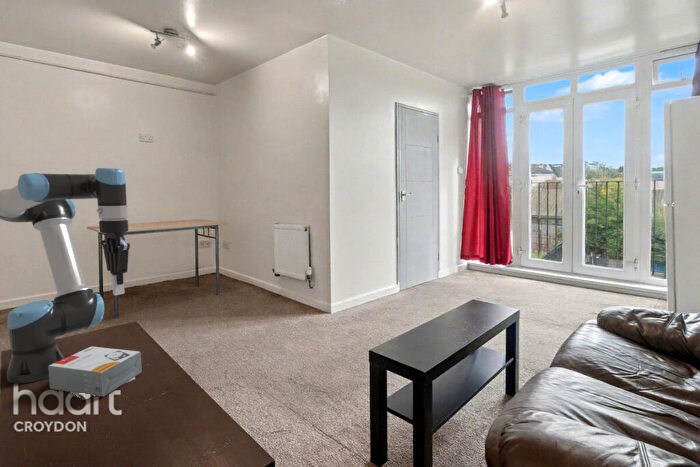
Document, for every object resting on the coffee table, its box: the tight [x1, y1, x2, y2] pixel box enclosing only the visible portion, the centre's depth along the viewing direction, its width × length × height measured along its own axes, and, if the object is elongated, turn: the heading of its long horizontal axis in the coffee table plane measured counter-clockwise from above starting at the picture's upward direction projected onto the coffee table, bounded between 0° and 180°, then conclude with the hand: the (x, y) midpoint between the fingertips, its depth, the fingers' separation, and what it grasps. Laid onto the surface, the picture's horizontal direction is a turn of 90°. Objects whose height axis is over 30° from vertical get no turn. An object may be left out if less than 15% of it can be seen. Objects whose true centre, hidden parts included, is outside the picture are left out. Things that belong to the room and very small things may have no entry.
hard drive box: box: [48, 346, 143, 397], centre depth 120 cm, size 16×8×20 cm
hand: (118, 293), depth 119 cm, fingers closed
